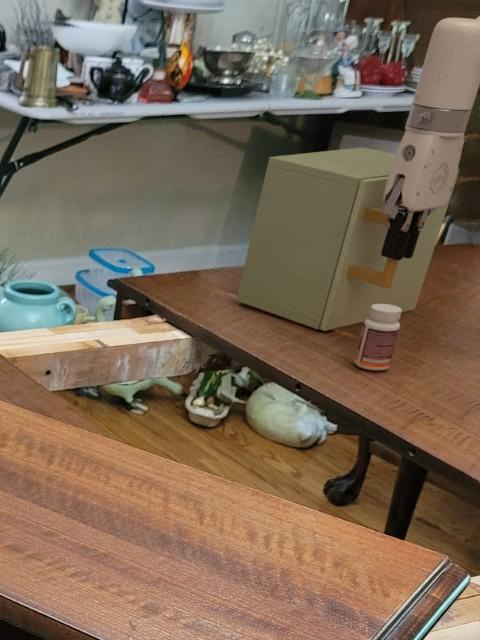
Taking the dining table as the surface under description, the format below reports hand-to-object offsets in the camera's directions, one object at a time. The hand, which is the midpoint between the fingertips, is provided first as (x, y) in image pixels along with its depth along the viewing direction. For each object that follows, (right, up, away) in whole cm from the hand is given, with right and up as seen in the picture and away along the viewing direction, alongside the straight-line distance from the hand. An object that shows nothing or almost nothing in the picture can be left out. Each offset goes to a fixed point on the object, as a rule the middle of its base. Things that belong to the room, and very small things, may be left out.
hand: (396, 256), depth 159 cm
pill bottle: (-5, -16, -2) cm, 17 cm away
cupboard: (-2, -1, +22) cm, 22 cm away
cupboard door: (+5, -7, +14) cm, 16 cm away
